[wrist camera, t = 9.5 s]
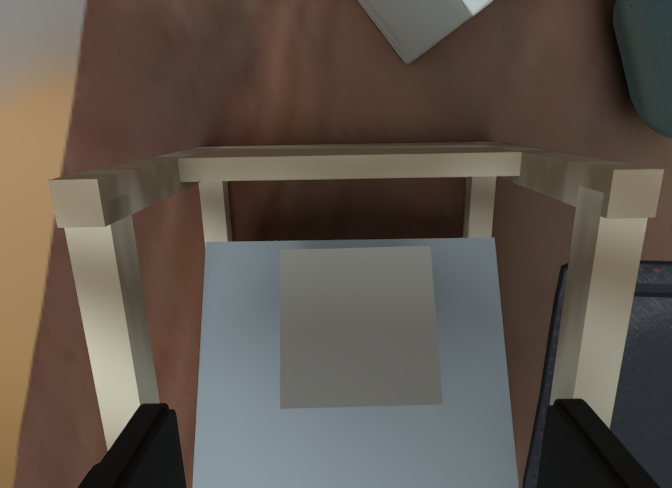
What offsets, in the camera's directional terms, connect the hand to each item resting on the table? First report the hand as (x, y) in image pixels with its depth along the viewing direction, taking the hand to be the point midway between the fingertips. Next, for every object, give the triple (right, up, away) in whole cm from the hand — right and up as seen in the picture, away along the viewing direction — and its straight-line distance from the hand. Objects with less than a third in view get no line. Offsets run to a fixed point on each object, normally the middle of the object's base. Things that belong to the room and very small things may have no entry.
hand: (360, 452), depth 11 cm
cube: (0, +1, +8) cm, 8 cm away
